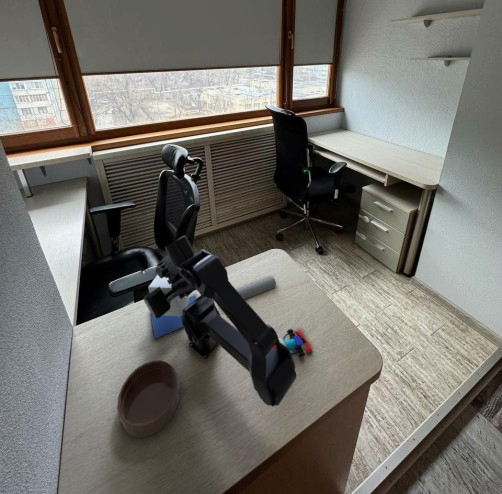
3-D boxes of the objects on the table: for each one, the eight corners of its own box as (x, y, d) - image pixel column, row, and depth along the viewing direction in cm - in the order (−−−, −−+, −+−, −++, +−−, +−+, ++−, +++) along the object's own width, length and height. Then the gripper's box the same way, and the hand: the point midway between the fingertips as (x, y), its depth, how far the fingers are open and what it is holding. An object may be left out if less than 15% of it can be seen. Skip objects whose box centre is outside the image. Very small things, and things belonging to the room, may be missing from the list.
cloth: (194, 295, 89) (194, 295, 89) (203, 318, 81) (203, 317, 81) (150, 313, 83) (150, 312, 83) (155, 339, 75) (154, 338, 75)
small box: (190, 301, 82) (181, 273, 79) (181, 317, 77) (172, 288, 74) (167, 300, 84) (157, 273, 81) (157, 315, 79) (147, 287, 76)
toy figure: (297, 332, 78) (251, 346, 72) (301, 320, 77) (254, 334, 70) (312, 359, 72) (262, 377, 66) (317, 347, 70) (266, 365, 64)
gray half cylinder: (218, 297, 88) (218, 293, 87) (271, 277, 95) (271, 274, 95) (222, 308, 84) (222, 304, 84) (277, 286, 92) (277, 282, 91)
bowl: (190, 393, 64) (188, 381, 62) (144, 454, 54) (140, 443, 52) (156, 361, 70) (154, 349, 68) (110, 410, 61) (105, 399, 59)
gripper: (201, 234, 76) (181, 249, 87) (141, 274, 63) (126, 286, 74) (222, 268, 75) (199, 279, 85) (165, 316, 61) (146, 323, 72)
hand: (170, 290), depth 79 cm, fingers closed on small box, 7 cm apart
